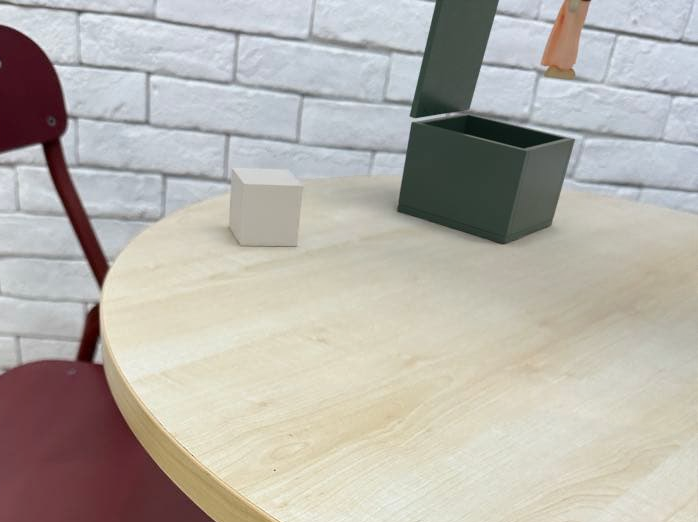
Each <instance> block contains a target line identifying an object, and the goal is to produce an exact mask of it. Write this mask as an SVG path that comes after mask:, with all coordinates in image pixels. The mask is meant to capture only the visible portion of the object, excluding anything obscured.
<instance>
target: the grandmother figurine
mask: <svg viewBox="0 0 698 522" xmlns="http://www.w3.org/2000/svg"><path fill="white" fill-rule="evenodd" d="M591 2H592V0H564V1H563V2H562V5H561V6H560V8H559V11H558V13H557V15H556V18H555V20H554V23H553V26H552V28H551V31H550V33H549V36H548V38H547V41H546V45H545V47H544V49H543V50H544V51H543V54H542V57H541V60H540V65H541V66H542V67H547V68H546V70H545V72H544V74H543V77H545V78H548V79H556V80H565V81H566V80H567V81H572V80H573V81H574V78H575V77H576V71H575V70H574V68H573V67H574V66H575V65H576V63H577V58H578V52H579V46H580V39H581V35H582V30H583V27H584V25H585V22H586V19H587V15H588V12H589V7H590V3H591Z"/></svg>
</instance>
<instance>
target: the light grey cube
mask: <svg viewBox="0 0 698 522" xmlns="http://www.w3.org/2000/svg"><path fill="white" fill-rule="evenodd" d="M230 174H231V177H230V197H229V215H228V228H229V230H230V231H231V233H232V234H233V236H234V237H235V239H236V241H237V243H238V244H239V245H240V246H241V247H242V246H244V247H248V246H249V247H254V246H255V247H298V239H299V231H300V222H301V221H300V220H301V210H302V201H303V192H304V191H303V190H304V185H303V184H302V183H301V181H299V180H298V179H297V178H296V176H294V175H293V174H292V172H291V171H290V170H289V169H280V168H279V169H277V168H276V169H275V168H249V167H248V168H247V167H231V173H230Z"/></svg>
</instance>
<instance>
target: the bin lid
mask: <svg viewBox="0 0 698 522" xmlns="http://www.w3.org/2000/svg"><path fill="white" fill-rule="evenodd" d="M499 2H500V0H435V3H434V8H433V13H432V16H431V21H430V25H429V30H428V35H427V37H426V38H427V39H426V42H425V47H424V51H423V56H422V61H421V64H420V69H419V73H418V78H417V82H416V87H415V91H414V94H413V99H412V103H411V108H410V111H409V118H412V119H420V118H421V119H422V118H426V117H427V118H428V117H432V116H440V115H446V114H451V113H457V112H463V111H470V109H471V105H472V102H473V98H474V94H475V90H476V88H477V84H478V79H479V76H480V72H481V70H482V66H483V65H482V64H483V61H484V56H485V54H486V50H487V46H488V43H489V39H490V35H491V32H492V28H493V25H494V21H495V17H496V13H497V9H498V6H499Z"/></svg>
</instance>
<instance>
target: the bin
mask: <svg viewBox="0 0 698 522" xmlns="http://www.w3.org/2000/svg"><path fill="white" fill-rule="evenodd" d="M575 141H576V139H575V138H572V137H568V136H564V135H560V134H556V133H551V132H547V131H543V130H539V129H535V128H530V127H526V126H522V125H518V124H514V123H509V122H506V121H502V120H496V119H493V118H488V117H484V116H481V115H476V114H471V113H469V112H464V113H459V114H453V115H447V116H440V117H435V118H429V119H422V120H416V121H411V123H410V128H409V135H408V141H407V148H406V153H405V159H404V166H403V171H402V176H401V181H400V188H399V195H398V200H397V201H398V202H397V209H396V211H397V212H401V213H404V214H406V215H409V216H412V217H417V218H419V219H423V220H426V221H428V222H432V223H436V224H438V225H441V226H445V227H448V228H451V229H455V230H458V231H461V232H463V233H468V234H470V235H474V236H477V237H480V238H484V239H487V240H490V241H493V242H496V243H499V244H502V245H505V244H508V243H510V242H512V241H515V240H518V239H520V238H522V237H525V236H528V235H530V234H532V233H535V232H538V231H540V230H543V229H545V228H548V227H550V226H552V225H553V221H554V218H555V214H556V211H557V208H558V203H559V200H560V196H561V192H562V190H563V185H564V181H565V178H566V175H567V170H568V167H569V163H570V160H571V156H572V152H573V148H574V145H575Z"/></svg>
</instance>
